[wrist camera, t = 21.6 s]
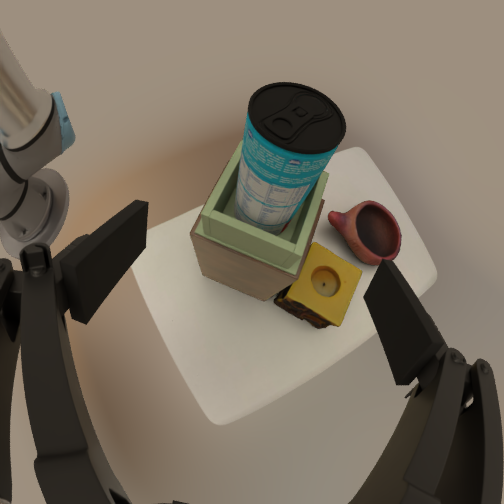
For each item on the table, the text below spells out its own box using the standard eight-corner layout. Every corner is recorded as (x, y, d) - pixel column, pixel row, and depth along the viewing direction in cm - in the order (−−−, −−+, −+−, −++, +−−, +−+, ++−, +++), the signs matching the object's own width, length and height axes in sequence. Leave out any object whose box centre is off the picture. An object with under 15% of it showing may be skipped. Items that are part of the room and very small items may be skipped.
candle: (318, 329, 48) (340, 329, 38) (271, 303, 48) (284, 297, 39) (340, 282, 51) (365, 272, 41) (296, 256, 51) (313, 240, 42)
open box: (194, 233, 27) (189, 211, 22) (232, 162, 30) (235, 132, 25) (294, 275, 27) (311, 263, 22) (320, 199, 30) (338, 175, 25)
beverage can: (300, 220, 29) (364, 130, 14) (256, 251, 27) (295, 167, 13) (266, 179, 30) (301, 73, 15) (222, 206, 28) (227, 98, 14)
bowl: (373, 206, 57) (391, 190, 49) (396, 258, 54) (417, 248, 46) (313, 224, 54) (327, 207, 46) (338, 284, 51) (356, 276, 43)
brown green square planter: (202, 275, 48) (189, 233, 27) (224, 227, 51) (229, 159, 30) (264, 301, 48) (298, 279, 27) (283, 252, 51) (325, 199, 30)
